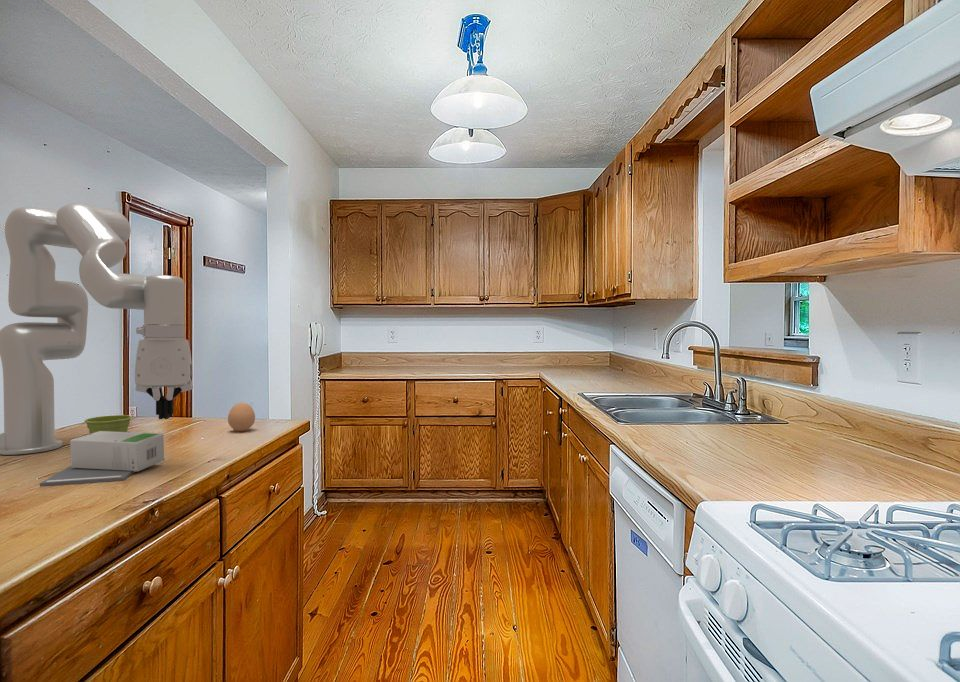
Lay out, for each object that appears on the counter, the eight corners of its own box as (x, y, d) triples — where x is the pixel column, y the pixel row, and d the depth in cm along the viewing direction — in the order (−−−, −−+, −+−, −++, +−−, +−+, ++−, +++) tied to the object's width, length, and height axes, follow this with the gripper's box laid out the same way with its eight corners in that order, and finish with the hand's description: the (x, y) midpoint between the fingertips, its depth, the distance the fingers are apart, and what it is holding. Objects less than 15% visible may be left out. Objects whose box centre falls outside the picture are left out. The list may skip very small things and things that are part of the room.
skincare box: (137, 443, 109) (67, 439, 110) (138, 474, 109) (69, 469, 111) (164, 432, 117) (100, 429, 118) (165, 461, 118) (101, 457, 119)
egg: (237, 434, 150) (237, 405, 150) (222, 431, 154) (222, 402, 154) (260, 430, 156) (260, 402, 156) (245, 427, 160) (245, 400, 160)
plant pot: (86, 460, 120) (86, 423, 120) (83, 453, 127) (82, 417, 127) (135, 454, 127) (134, 418, 126) (129, 447, 134) (128, 413, 133)
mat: (39, 486, 101) (39, 482, 101) (69, 468, 113) (69, 465, 113) (123, 480, 105) (123, 477, 105) (143, 464, 117) (143, 461, 117)
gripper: (118, 333, 107) (118, 422, 107) (199, 334, 111) (199, 420, 112) (130, 332, 114) (130, 416, 114) (206, 333, 118) (206, 414, 119)
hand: (164, 417), depth 113 cm, fingers closed
